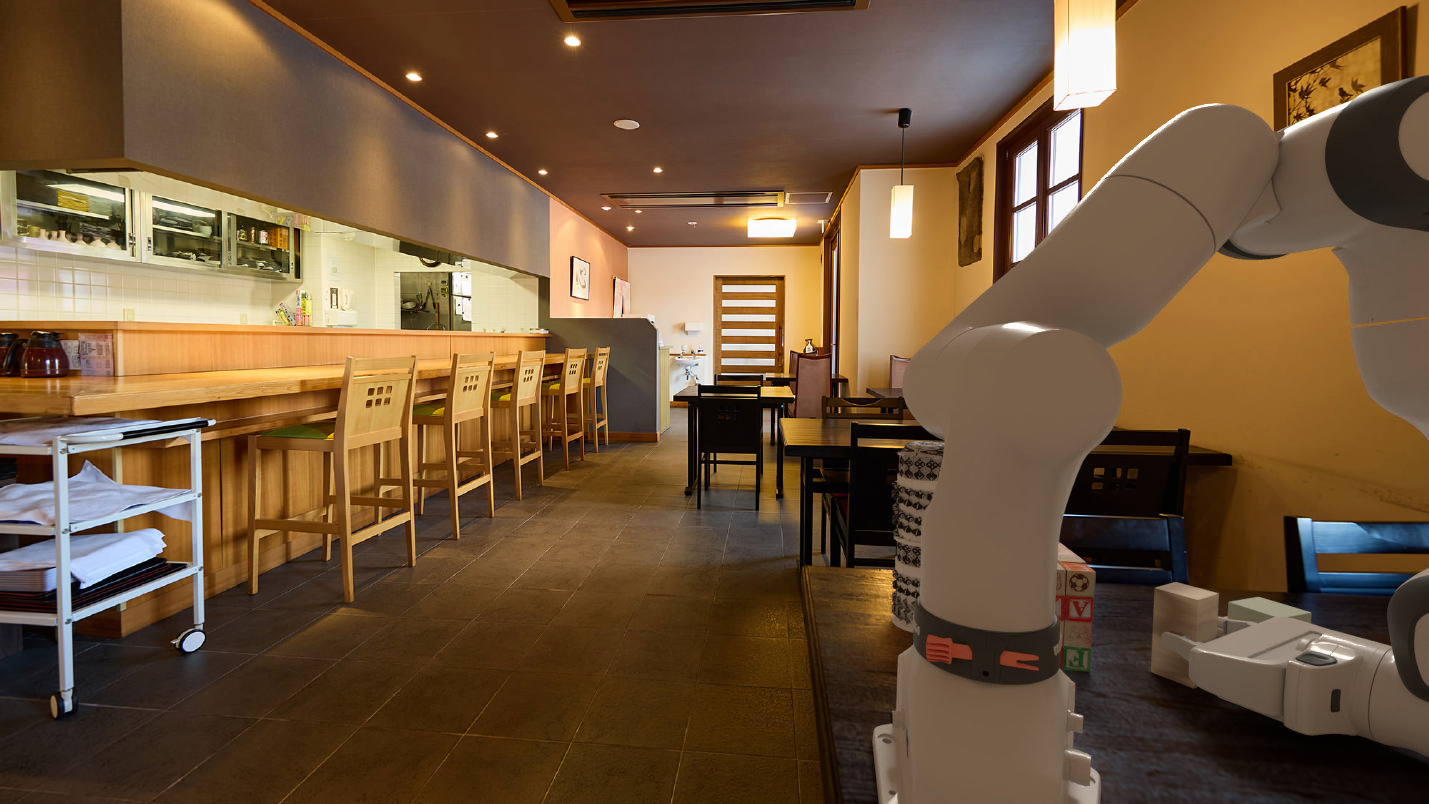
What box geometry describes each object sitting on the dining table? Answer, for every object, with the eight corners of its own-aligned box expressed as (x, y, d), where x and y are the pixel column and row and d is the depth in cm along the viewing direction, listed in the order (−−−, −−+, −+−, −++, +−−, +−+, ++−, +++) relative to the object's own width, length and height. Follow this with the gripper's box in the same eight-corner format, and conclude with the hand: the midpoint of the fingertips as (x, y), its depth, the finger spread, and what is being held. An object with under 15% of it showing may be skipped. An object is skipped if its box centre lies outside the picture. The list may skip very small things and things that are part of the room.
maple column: (1214, 679, 76) (1218, 593, 75) (1193, 688, 74) (1198, 600, 73) (1171, 663, 80) (1175, 581, 79) (1150, 672, 77) (1154, 587, 77)
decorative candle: (875, 615, 94) (879, 440, 93) (929, 607, 98) (934, 438, 96) (914, 640, 86) (919, 448, 84) (973, 631, 89) (978, 445, 87)
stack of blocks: (994, 604, 99) (996, 523, 99) (1039, 608, 98) (1042, 525, 97) (1034, 669, 78) (1038, 566, 78) (1092, 674, 77) (1096, 570, 76)
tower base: (1323, 653, 83) (1325, 614, 83) (1281, 662, 81) (1284, 622, 81) (1253, 629, 91) (1255, 593, 91) (1213, 637, 88) (1215, 600, 88)
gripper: (1390, 629, 69) (1234, 589, 81) (1300, 671, 59) (1138, 618, 71) (1385, 688, 69) (1231, 639, 81) (1296, 740, 59) (1135, 676, 71)
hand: (1187, 630), depth 76 cm, fingers open, 8 cm apart
